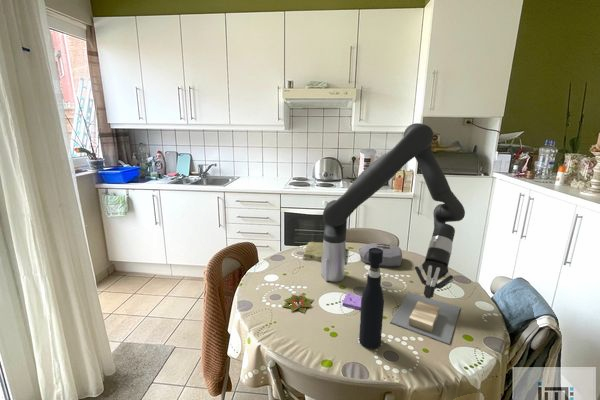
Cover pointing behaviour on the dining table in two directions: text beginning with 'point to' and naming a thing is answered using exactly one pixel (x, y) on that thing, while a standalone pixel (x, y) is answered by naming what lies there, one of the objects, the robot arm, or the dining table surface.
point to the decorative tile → (314, 251)
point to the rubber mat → (442, 325)
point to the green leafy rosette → (298, 299)
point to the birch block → (424, 316)
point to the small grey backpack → (390, 254)
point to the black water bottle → (372, 303)
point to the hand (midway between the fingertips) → (427, 297)
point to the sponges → (352, 301)
